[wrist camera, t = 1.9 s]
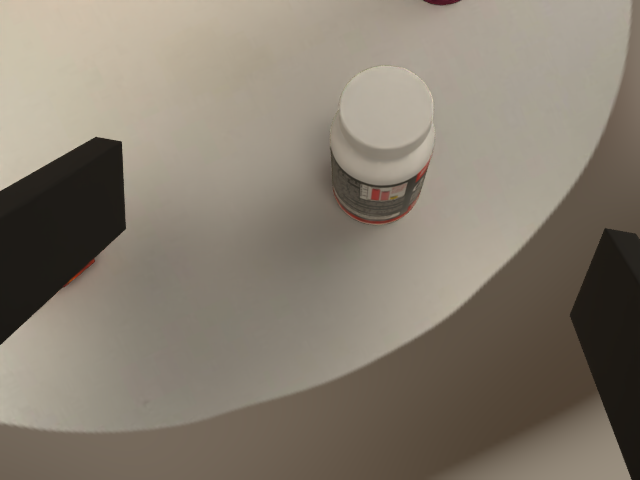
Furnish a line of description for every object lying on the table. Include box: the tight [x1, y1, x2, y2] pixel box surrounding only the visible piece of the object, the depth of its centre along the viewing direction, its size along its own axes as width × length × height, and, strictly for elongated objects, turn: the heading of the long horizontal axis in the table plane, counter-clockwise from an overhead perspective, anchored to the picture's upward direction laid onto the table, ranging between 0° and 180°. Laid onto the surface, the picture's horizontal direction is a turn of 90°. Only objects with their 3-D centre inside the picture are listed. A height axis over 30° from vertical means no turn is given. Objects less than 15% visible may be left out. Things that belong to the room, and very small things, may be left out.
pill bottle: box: [330, 65, 435, 225], centre depth 32 cm, size 6×6×10 cm
